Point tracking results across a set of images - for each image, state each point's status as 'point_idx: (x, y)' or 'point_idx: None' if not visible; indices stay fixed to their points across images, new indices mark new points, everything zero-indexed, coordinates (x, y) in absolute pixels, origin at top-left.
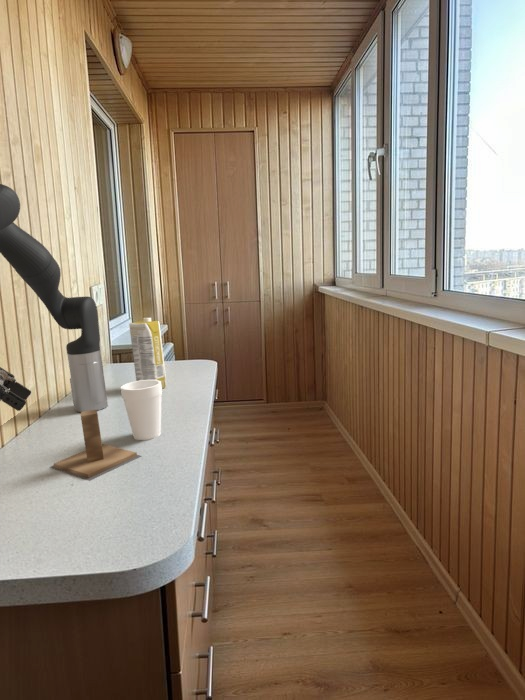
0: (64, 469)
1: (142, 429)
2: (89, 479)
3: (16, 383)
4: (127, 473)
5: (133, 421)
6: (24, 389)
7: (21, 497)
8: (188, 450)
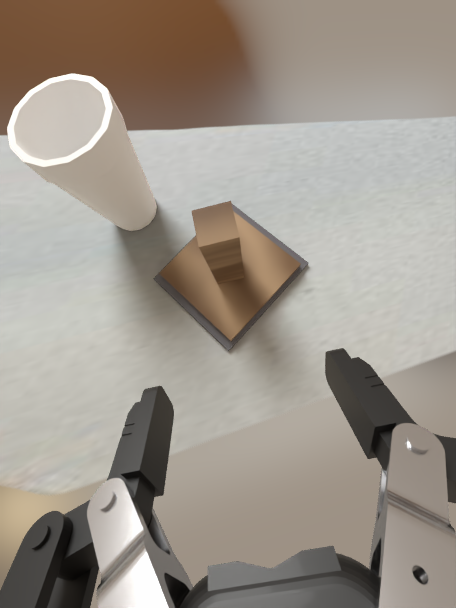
0: (253, 316)
1: (148, 196)
2: (304, 264)
3: (142, 464)
4: (286, 214)
5: (135, 200)
6: (156, 414)
7: None
8: (221, 141)
